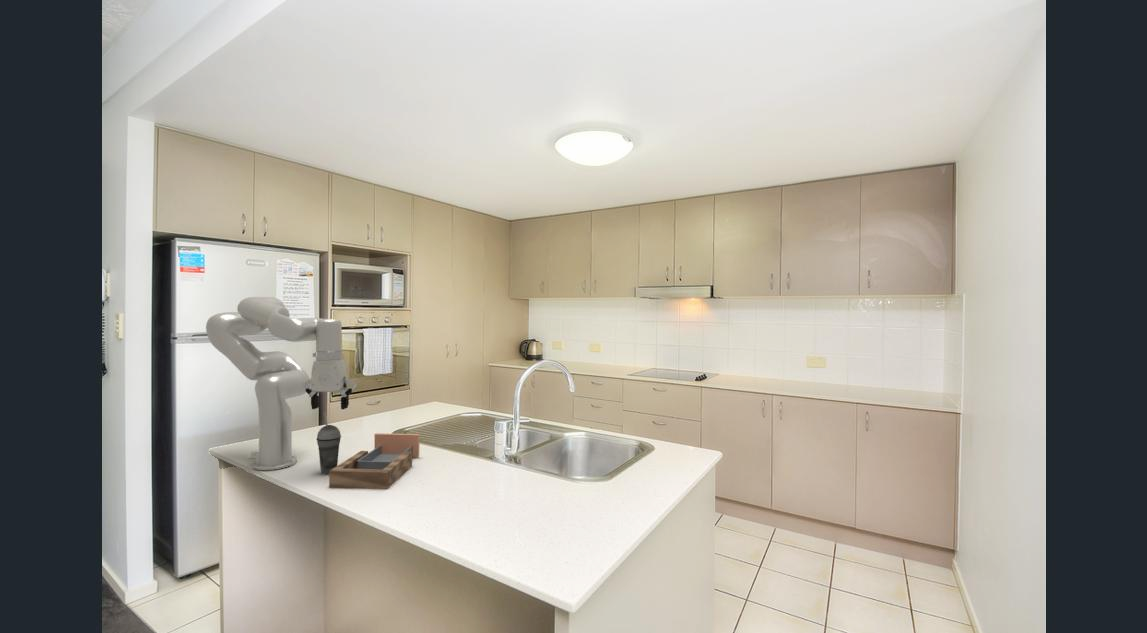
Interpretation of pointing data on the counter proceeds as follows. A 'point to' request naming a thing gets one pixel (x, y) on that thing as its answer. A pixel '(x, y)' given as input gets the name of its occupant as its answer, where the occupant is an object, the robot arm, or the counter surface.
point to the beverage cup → (328, 447)
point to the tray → (389, 450)
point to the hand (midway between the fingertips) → (330, 408)
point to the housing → (368, 473)
